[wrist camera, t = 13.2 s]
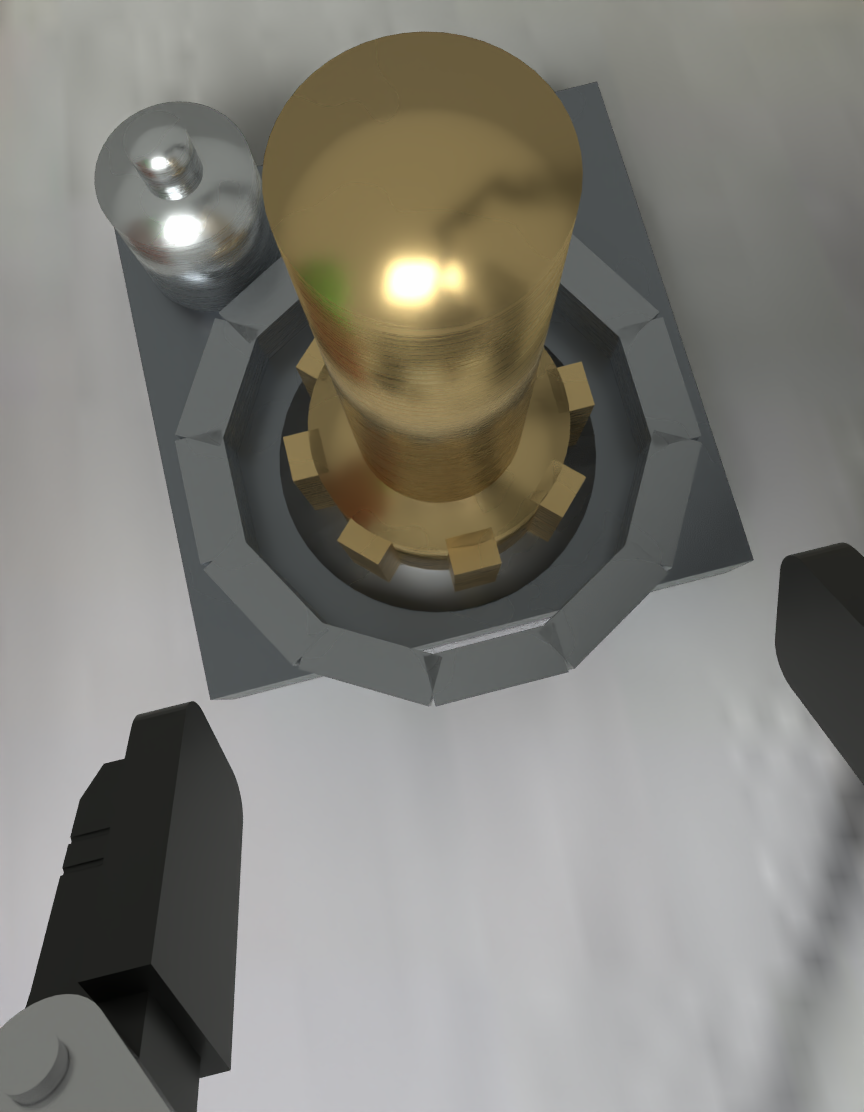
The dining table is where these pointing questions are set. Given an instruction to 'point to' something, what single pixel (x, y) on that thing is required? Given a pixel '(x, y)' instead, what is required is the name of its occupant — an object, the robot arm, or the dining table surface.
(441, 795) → the dining table surface
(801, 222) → the dining table surface
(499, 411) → the gear
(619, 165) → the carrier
